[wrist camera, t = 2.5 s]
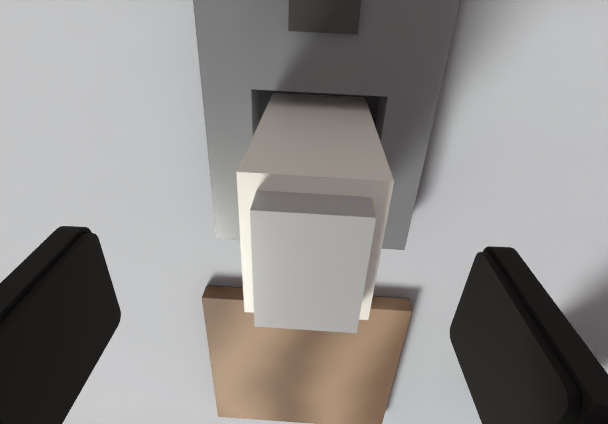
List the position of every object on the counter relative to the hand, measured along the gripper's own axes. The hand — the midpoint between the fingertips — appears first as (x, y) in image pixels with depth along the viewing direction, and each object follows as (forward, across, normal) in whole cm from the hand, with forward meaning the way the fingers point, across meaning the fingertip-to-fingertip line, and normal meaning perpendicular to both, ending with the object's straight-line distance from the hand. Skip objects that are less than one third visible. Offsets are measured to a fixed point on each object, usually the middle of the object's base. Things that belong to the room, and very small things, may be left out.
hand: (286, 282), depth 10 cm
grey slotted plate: (+9, -1, -4) cm, 10 cm away
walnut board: (+9, -1, +15) cm, 18 cm away
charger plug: (+9, -1, 0) cm, 9 cm away
